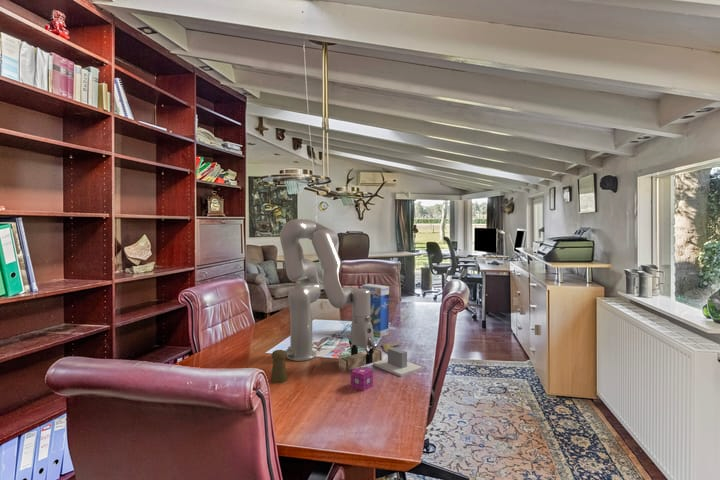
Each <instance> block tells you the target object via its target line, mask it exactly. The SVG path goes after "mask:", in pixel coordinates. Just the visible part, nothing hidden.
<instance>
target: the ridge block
mask: <svg viewBox="0 0 720 480" xmlns="http://www.w3.org/2000/svg"><path fill="white" fill-rule="evenodd" d="M372 366H374V367H377V368H379V369H381V370H384V371H386V372H389V373H391V374H392V375H395V376H398V377H404V376H407V375H410V374H413V373H417V372H420V371H421V370H423V366H421V365H418V364H416V363H413V362H410V361H408V351H406V350H403V349H400V348H397V347H395V346H393V347H391V348H388V353H387V358H385V359H382V360H381V361H377V362H374V363H372Z"/></svg>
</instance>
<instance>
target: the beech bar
mask: <svg viewBox="0 0 720 480" xmlns="http://www.w3.org/2000/svg"><path fill="white" fill-rule="evenodd" d="M366 354H367V353H366V351H363V352H360V353H358V354H355V355H351V354H350V355H348V356H344V357H340V358H339V359H338V369H339V370H340V371H343V372H348V371H352V370H355V369H357V368H360V367H361V366H362V367H364V365H365V366H368V365H371V364H373V363H374V362H377V361H381V360H383V350H381V349H378V348H376V349H375V351H374V353H373V362H372V363H370V364H366ZM354 368H355V369H354ZM351 369H352V370H351Z"/></svg>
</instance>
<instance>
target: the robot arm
mask: <svg viewBox="0 0 720 480" xmlns="http://www.w3.org/2000/svg"><path fill="white" fill-rule="evenodd" d="M279 233H280V234H279V240H280V245H281V248H282V249H281V250H282V254H283V259H284V264H285V271H286V275H287V278H288V279H289V281H291V282H295V283H296V282H299V284H297V285H295V286H293V287H292V288H291V289H289V292H288V294H287V296H288V297H287V300H288V301H287V302H288V305H289V318H290V319H289V321H290V322H289V325H290V328H289V329H290V330H289V331H290V332H289V333H290V337H289V339H290V340H289V341H290V342H289V344H290V346H288V347H287V349H286V350H284V351H285V352H286V358H287V359H288V360H290V361H293V362H294V361H296V362H302V361H303V362H304V361H305V362H306V361H310V360H313V359H314V358H315V357H316V356H317V352H316V351H314V349H313V313H312V309H311V304H313V303H314V302H317V301H318V300H319V298H320V296H321V284H320V280H319V275H318V270H317V266H316V264H315V263H314V261H312V260H311V259H309V258H305V256H304V250H303V247H302V245H301V243H300V240H301V239H308V240H310V241H311V244H312V247H313V250H314V252H315V254H316V256H317V260H318V261H319V262H318V263H320V266H321V270H322V273H321V277H322V285H323V290H324V292H325V295H326V297H327V299H328V302H329V303H330V305H331V306H332V307H334V308H335V309H343V308H345V307H347V306H350V305H351V309H352V310H351V315H352V316H351V317H352V320H351V328H350V334H349V335H348V336H347V340H348V344H349V348H350V356H351V355H355V354H358V351H359V349H358V347H359V348H362V349H364V350H365V352H366V353H367V354H366V364H368V365H371V364H373V363H372V362H373V353H374V351H375V349H377V344H376V342H375V340H374V339H375V338H374V337H375V336H374V335H373V327H372V323H371V315H370V291H369V290H368V289H362V288H355V287H350V286H343V287H342V285H341V282H340V279H339V273H340V269H341V266H342V261H341V258H340V255H339V253H338V251H337V249H336V246H337V245H338V243H339V237H338V235H337V233H336V232H335V231H334V230H333V229H330V228H328V227H327V226H324V225H323V224H321V223H318V221H317V222H316V221H315V220H313V219H303V218H295V219H291V220H289V221H287V222H286V223H285V224H284V225H283V226H282V228H281V230H280V232H279ZM370 363H371V364H370Z"/></svg>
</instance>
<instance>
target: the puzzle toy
mask: <svg viewBox="0 0 720 480" xmlns="http://www.w3.org/2000/svg"><path fill="white" fill-rule="evenodd" d="M350 387H351V388H353V389H356V390H358V391H361V392H364V391H366V390H368V389H370V388H372V387H374V370H372V369H369V368H366V367H364V366H362V367H358V368H355V369H352V370H350Z"/></svg>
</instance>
